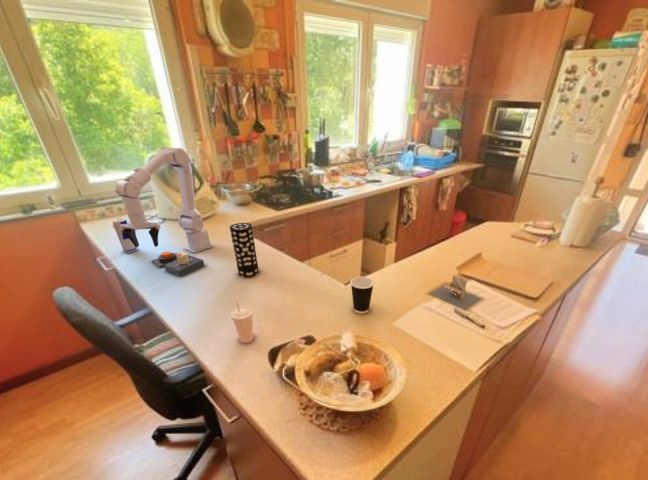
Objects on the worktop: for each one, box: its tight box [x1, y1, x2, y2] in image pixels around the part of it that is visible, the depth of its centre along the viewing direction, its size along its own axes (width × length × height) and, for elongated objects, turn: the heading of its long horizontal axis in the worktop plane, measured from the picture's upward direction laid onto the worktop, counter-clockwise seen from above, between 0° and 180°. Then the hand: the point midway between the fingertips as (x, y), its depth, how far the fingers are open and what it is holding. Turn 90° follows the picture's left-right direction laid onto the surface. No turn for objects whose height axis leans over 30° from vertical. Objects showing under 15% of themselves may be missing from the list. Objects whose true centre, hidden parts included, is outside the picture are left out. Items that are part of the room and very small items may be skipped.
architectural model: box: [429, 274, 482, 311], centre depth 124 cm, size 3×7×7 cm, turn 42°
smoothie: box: [230, 299, 254, 344], centre depth 101 cm, size 6×6×14 cm
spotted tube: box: [229, 222, 260, 279], centre depth 136 cm, size 8×8×20 cm
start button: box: [160, 251, 172, 258], centre depth 150 cm, size 4×4×2 cm
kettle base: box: [151, 252, 178, 269], centre depth 151 cm, size 11×9×3 cm
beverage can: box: [111, 217, 138, 254], centre depth 157 cm, size 6×6×15 cm
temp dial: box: [176, 252, 189, 264], centre depth 142 cm, size 4×4×4 cm
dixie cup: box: [350, 276, 375, 315], centre depth 115 cm, size 8×8×11 cm
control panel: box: [163, 254, 205, 278], centre depth 144 cm, size 12×10×3 cm
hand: (147, 246), depth 140 cm, fingers open, 7 cm apart
